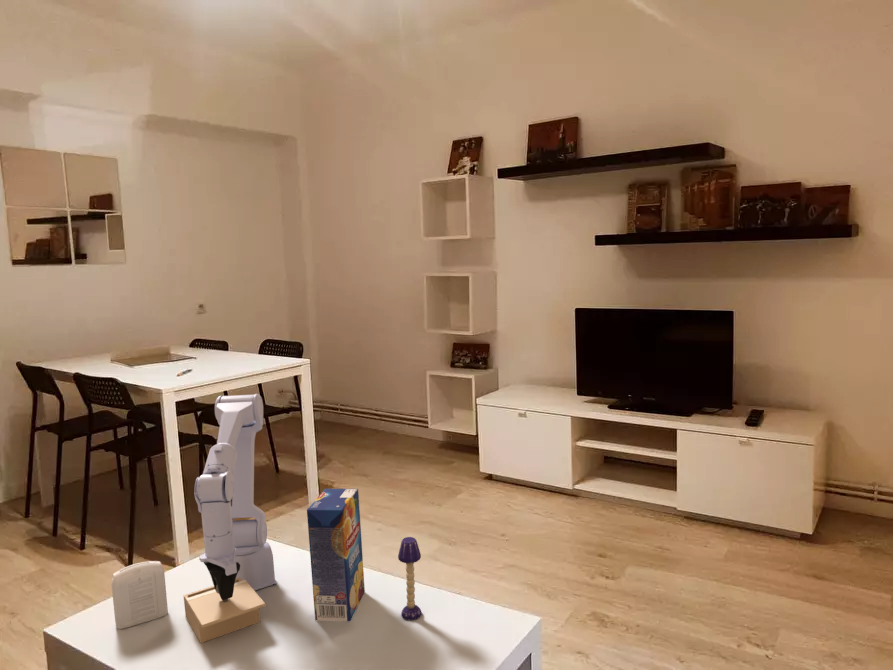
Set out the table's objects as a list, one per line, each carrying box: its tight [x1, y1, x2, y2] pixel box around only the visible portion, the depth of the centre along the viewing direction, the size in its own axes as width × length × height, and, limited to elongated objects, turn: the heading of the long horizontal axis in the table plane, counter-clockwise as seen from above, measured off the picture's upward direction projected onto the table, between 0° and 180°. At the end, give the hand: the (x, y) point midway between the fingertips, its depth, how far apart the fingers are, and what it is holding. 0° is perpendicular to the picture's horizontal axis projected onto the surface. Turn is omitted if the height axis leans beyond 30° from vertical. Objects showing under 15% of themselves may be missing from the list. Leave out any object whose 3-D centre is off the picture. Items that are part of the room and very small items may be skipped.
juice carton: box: [306, 488, 366, 623], centre depth 143 cm, size 12×8×24 cm, turn 172°
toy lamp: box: [397, 536, 422, 621], centre depth 138 cm, size 5×5×17 cm
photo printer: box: [111, 560, 169, 630], centre depth 142 cm, size 10×4×12 cm, turn 123°
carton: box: [183, 578, 261, 644], centre depth 141 cm, size 12×12×5 cm
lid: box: [186, 580, 266, 628], centre depth 138 cm, size 12×12×5 cm
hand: (224, 594), depth 138 cm, fingers closed on lid, 3 cm apart
